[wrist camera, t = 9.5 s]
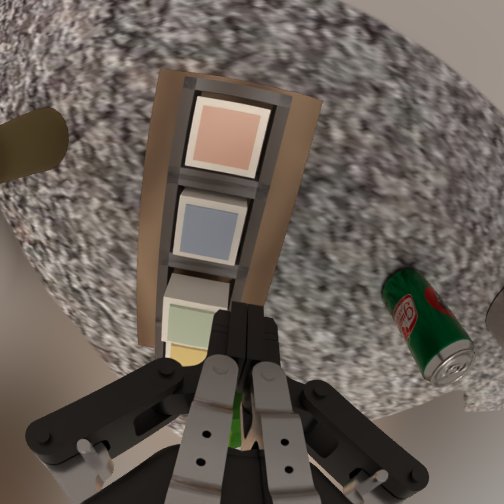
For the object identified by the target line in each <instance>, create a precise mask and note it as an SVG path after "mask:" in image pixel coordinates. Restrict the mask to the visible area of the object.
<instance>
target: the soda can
mask: <svg viewBox="0 0 504 504" xmlns="http://www.w3.org/2000/svg"><path fill="white" fill-rule="evenodd" d="M382 299H383V302H384V304H385V306H386V307H387V309H388V311H389V313H390V315H391V316H392V318H393V320H394V322H395V324H396V325H397V327H398V329H399V331H400V333H401V335H402V337H403V339H404V341H405V342H406V344H407V346H408V348H409V350H410V352H411V354H412V356H413V358H414V360H415V362H416V364H417V366H418V368H419V370H420V372H421V374H422V376H423V378H424V379H425V380H427V381H429V382H431V385H432V386H434V387H437V388H439V387H444V386H447V385H450V384H452V383H453V382H455V381H457V380H458V379H460V378H461V377H462V376H463V375H464V374H465V373H466V372H467V371H468V370H469V369H470V368H471V366H472V365H473V363H474V360H475V352H474V351H473V342H472V340H471V338H470V337H469V335H468V334H467V333H466V331H465V330H464V328H463V327H462V326H461V324H460V323H459V321H458V320H457V319H456V317H455V316H454V314H453V313H452V312H451V310H450V309H449V308H448V306H447V305H446V304H445V302H444V301H443V300H442V299H441V297H440V296H439V295H438V293H437V292H436V291H435V290H434V288H433V287H432V286H431V284H430V283H429V282H428V281H427V279H426V278H425V277H424V276H423V275H422V273H421V272H420V271H418V270H416V269H404V270H401V271H398V272H397V273H395V274H394V275H393V276H391V277H390V279H389V280H388V281H387V283H386V284H385V287H384V289H383V293H382Z"/></svg>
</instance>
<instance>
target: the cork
mask: <svg viewBox="0 0 504 504" xmlns="http://www.w3.org/2000/svg"><path fill="white" fill-rule="evenodd" d="M68 141H69V139H68V128H67V125H66V122H65V120H64V118H63V117H62V115H61V114H60V113H59V112H58V111H56V110H55V109H53V108H49V107H43V108H39V109H36V110H34V111H31V112H29V113H26V114H24V115H21V116H19V117H17V118H15V119H12V120H10V121H8V122H6V123H4V124H1V125H0V184H1V183H4V182H8V181H11V180H14V179H18V178H21V177H25V176H28V175H32V174H36V173H40V172H43V171H47V170H51V169H52V168H54V167H56V166H57V165H58V164H59V163H60V162H61V161H62V160H63V158H64V155H65V153H66V151H67V146H68Z"/></svg>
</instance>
